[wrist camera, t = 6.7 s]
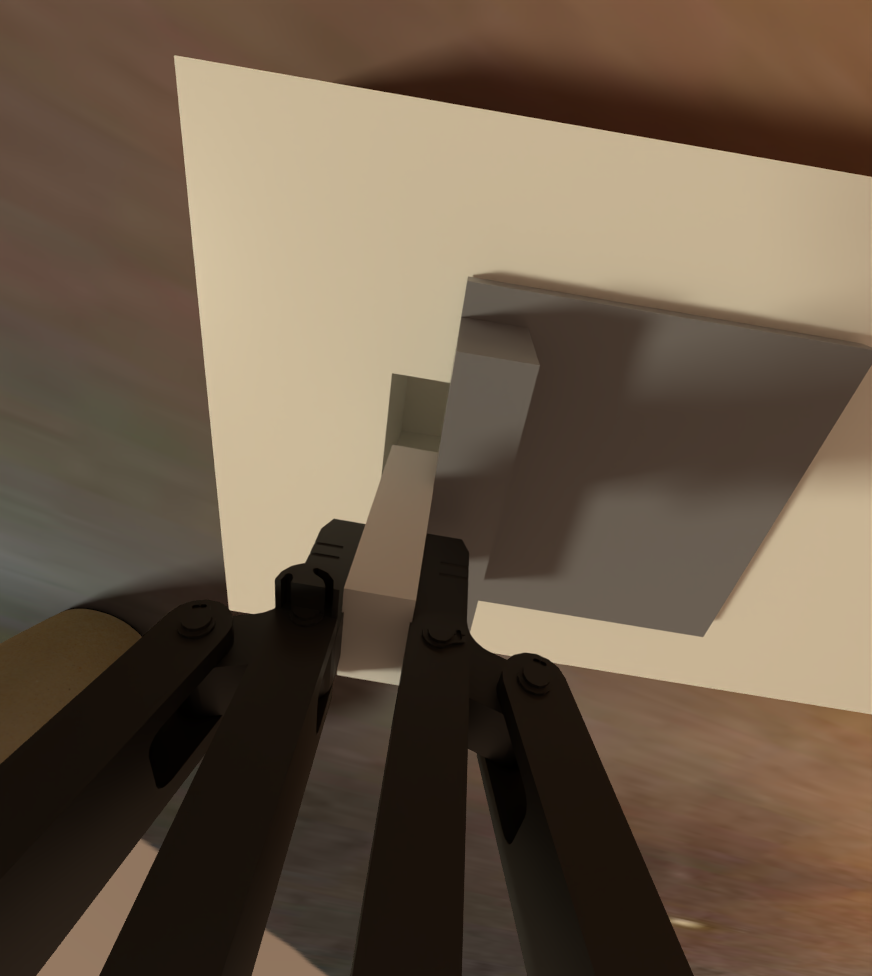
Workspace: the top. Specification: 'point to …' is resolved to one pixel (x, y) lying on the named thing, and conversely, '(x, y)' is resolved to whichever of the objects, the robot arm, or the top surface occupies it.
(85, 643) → the plant pot
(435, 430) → the socket block
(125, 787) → the robot arm
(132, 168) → the top surface
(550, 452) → the shutter
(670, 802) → the top surface
